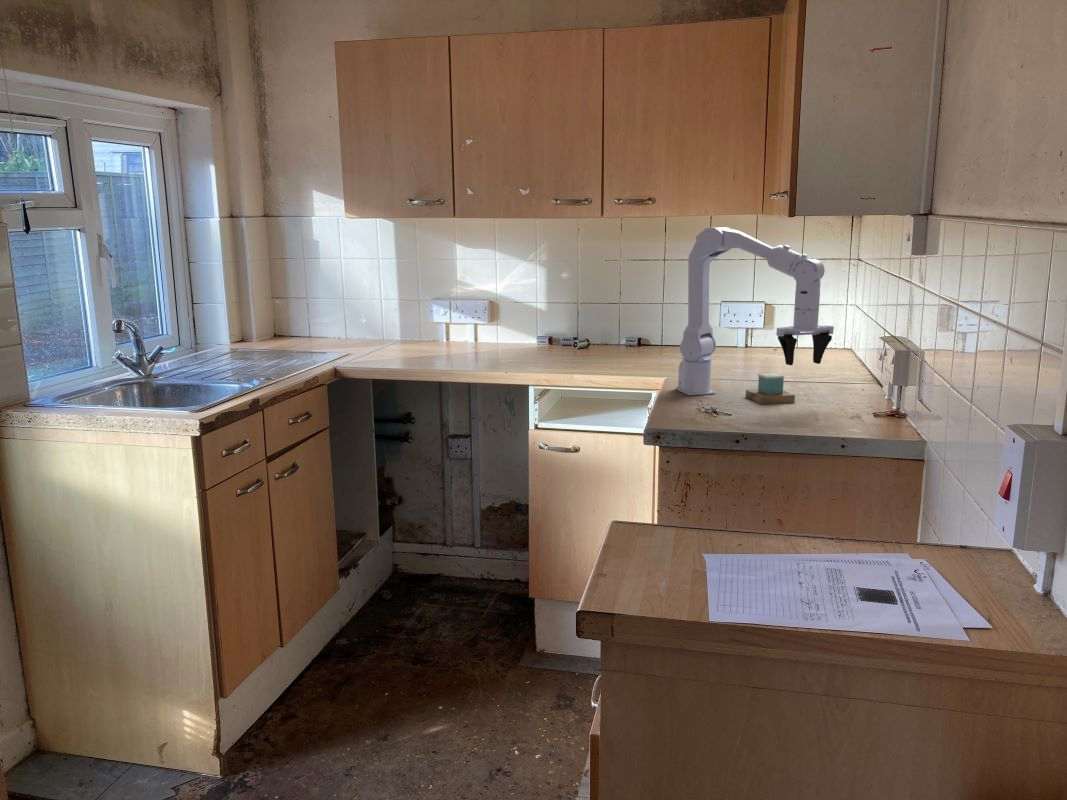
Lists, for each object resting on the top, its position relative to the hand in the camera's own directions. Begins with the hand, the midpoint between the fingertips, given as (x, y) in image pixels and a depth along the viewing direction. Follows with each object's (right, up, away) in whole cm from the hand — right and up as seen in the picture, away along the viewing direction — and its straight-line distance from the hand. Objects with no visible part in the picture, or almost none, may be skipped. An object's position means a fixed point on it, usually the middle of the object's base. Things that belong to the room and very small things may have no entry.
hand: (803, 363), depth 205 cm
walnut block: (-6, -9, +9) cm, 14 cm away
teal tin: (-6, -7, +8) cm, 12 cm away
